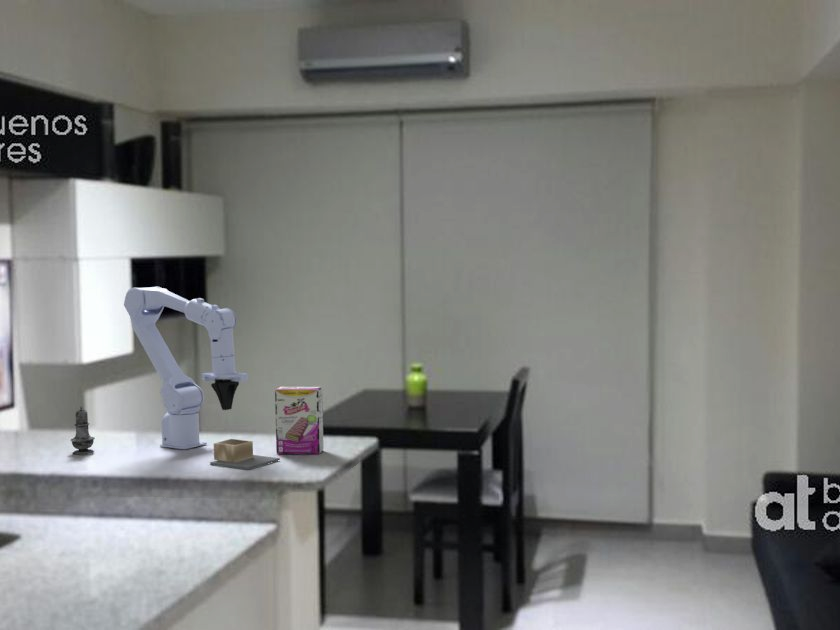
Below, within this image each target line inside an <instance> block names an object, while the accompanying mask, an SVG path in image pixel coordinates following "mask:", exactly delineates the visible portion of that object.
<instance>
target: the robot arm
mask: <svg viewBox="0 0 840 630" xmlns="http://www.w3.org/2000/svg"><path fill="white" fill-rule="evenodd" d="M123 306H124V308H125V310H126V312H127V314H128V315H129V318H130V323H131V326H132V330H133V331H134V334H135V335H136V337H137V338H138V340H139V342H140V344H141V346H142V348H143V349H144V352H145V353H146V355H147V357H148V359H149V360H150V362H151V363H152V365H153V367H154V369H155V371H156V373H157V375H158V376H159V379H161V382H162V383H163V384H162V385H161V388H160V390H159V393H160V396H161V398H162V403H163V406H164V408H165V410H166V411H167V412H166V413H165V414H164V415H163V417H162V419H161V440H162V441H161V443H162V444H161V443H160V444H159V447H161V448H169V449H170V448H172V449H177V450H188V449H189V450H190V449H193V448H196V447H200V446H205V445H207V444H208V443H207V442H206V441H200V423H199V420H200V417H199V411H201V408H200V407H202V405H203V404H204V401H205V394H204V391H203V389H202V387H200V386H199V385H197V384H196V382H195V381H194V379H193V378H192V377H190V376H188V375H186V374H185V373H183V371H182V370H181V368H180V366H179V365H178V363H177V361H176V359H175V358H174V356H173V353H172V352H171V351H170V348H169V347H168V345H167V343H166V342H165V340H164V339H163V336H162V335H161V334H162V333H161V332H160V330H159V329H158V328H157V326H156V323H157V321H158V320H159V318H160V316H161V314H162V312H163V310H164V308H165V307H166V308H169V309H172V310H174V311H178V312H180V313H184V315H185V318H186V319H187V320H188V321H191V322H193V323H196V324H198V325H201V326H203V327H205V329H206V330H207V333H208V337H209V339H210V351H211V353H210V354H211V355H210V356H211V367H212V368H211V369H212V372H205V373H201V380H202V382H214V383H211V384H210V387H211V388H212V389H213V391H214V392H215V394H216V396H217V399H218V401H219V404H220V408H221V409H222V411H227V410H228V411H229V410H232V408H233V401H234V396H235V394H236V391H237V389H238V386H239V384H240V383H242V382H243V383H245V382H247V381H249V375H248V373H246V372H238V371H236V370H237V369H236V357H235V343H234V328H236V326H237V323H238V318H237V315H236V313H235V311H233V310H232V309H230V307H224V308H219V305H217V304H210V303H208V302H206V301H205V299H204V298H201V297H198V298H193V299H191V300H188V299H187V298H185V297H182V296H180V295H178V294H177V293H176V294H175V293H174V292H172V291H169V290H168V289H167V288H164V287H163V288H162V287H160V286H156V285H155V286H151V287H131V288H129V289H128V290H127V291H126V294H125V297H124V302H123Z"/></svg>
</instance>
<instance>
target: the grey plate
mask: <svg viewBox="0 0 840 630" xmlns="http://www.w3.org/2000/svg"><path fill="white" fill-rule="evenodd" d="M278 460H280V461H281V459H280V457H275V456H273V457H272V456H265V455H259V454H257V455H256V454H253V458H250V459H247V460H243V461H240V462H236V463H235V462H227V461H220V460H214V461H210V462H209V463H210V465H211V466H217V467H223V468H231V469H239V470H247V471H250V470H252V469H256V468H259V467H262V466H266V465H265V464H267V465H269V464H268V463H270V464H272V463H271V462H274V463H276V462H275V461H277V462H279V461H278Z"/></svg>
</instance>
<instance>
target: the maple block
mask: <svg viewBox="0 0 840 630" xmlns="http://www.w3.org/2000/svg"><path fill="white" fill-rule="evenodd" d="M253 442H254V441H252V440H244V439H236V438H230V439H226V440H225V439H224V440H222V441H217V442H214V443H213V459H214V461H217V460H220V461H227V462H235V463H236V462H240V461H243V460H247V459H250V458H253V455H254V446H253V445H254V444H253Z"/></svg>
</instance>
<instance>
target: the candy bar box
mask: <svg viewBox="0 0 840 630" xmlns="http://www.w3.org/2000/svg"><path fill="white" fill-rule="evenodd" d="M274 398H275V400H274V402H275V404H274V405H275V406H274V407H275V439H276V442H275V445H276V447H275V448H276V449H275V450H276V454H277V455H320V454H321V453H322V452H324V415H323V413H324V412H323V411H324V410H323V409H324V408H323V387H322V386H278V387H277V388H274Z"/></svg>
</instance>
